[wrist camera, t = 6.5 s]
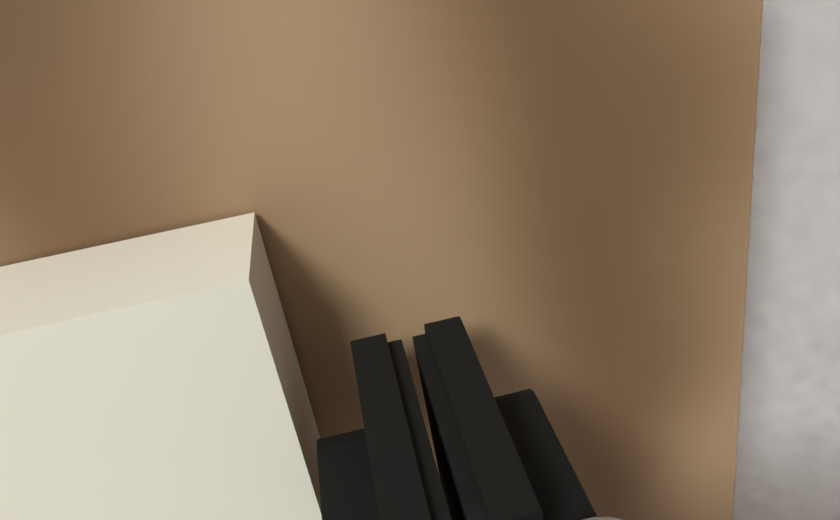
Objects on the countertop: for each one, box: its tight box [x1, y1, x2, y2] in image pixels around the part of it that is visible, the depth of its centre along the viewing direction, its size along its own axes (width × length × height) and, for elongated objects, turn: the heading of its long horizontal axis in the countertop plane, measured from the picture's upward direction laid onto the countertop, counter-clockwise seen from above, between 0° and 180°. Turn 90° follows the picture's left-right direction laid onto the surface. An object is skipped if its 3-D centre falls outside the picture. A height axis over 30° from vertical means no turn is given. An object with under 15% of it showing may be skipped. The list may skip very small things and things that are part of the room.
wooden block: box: [0, 0, 763, 520], centre depth 14 cm, size 18×14×4 cm
